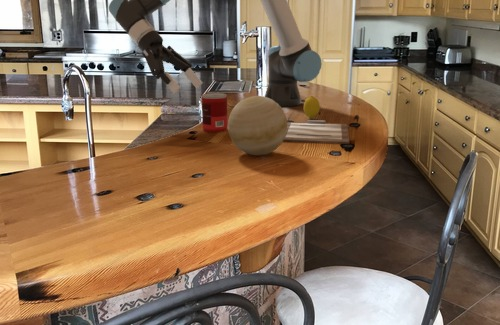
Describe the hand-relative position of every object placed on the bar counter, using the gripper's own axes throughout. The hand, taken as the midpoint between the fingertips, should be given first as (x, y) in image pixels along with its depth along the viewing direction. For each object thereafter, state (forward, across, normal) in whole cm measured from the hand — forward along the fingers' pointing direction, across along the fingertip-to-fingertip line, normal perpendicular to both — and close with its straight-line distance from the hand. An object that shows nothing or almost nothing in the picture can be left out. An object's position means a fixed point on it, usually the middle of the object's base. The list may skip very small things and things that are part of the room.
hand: (189, 88), depth 163 cm
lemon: (+30, -30, +13) cm, 45 cm away
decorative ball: (+32, +22, +14) cm, 42 cm away
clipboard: (+36, -9, +18) cm, 41 cm away
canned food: (+15, -1, -3) cm, 15 cm away
